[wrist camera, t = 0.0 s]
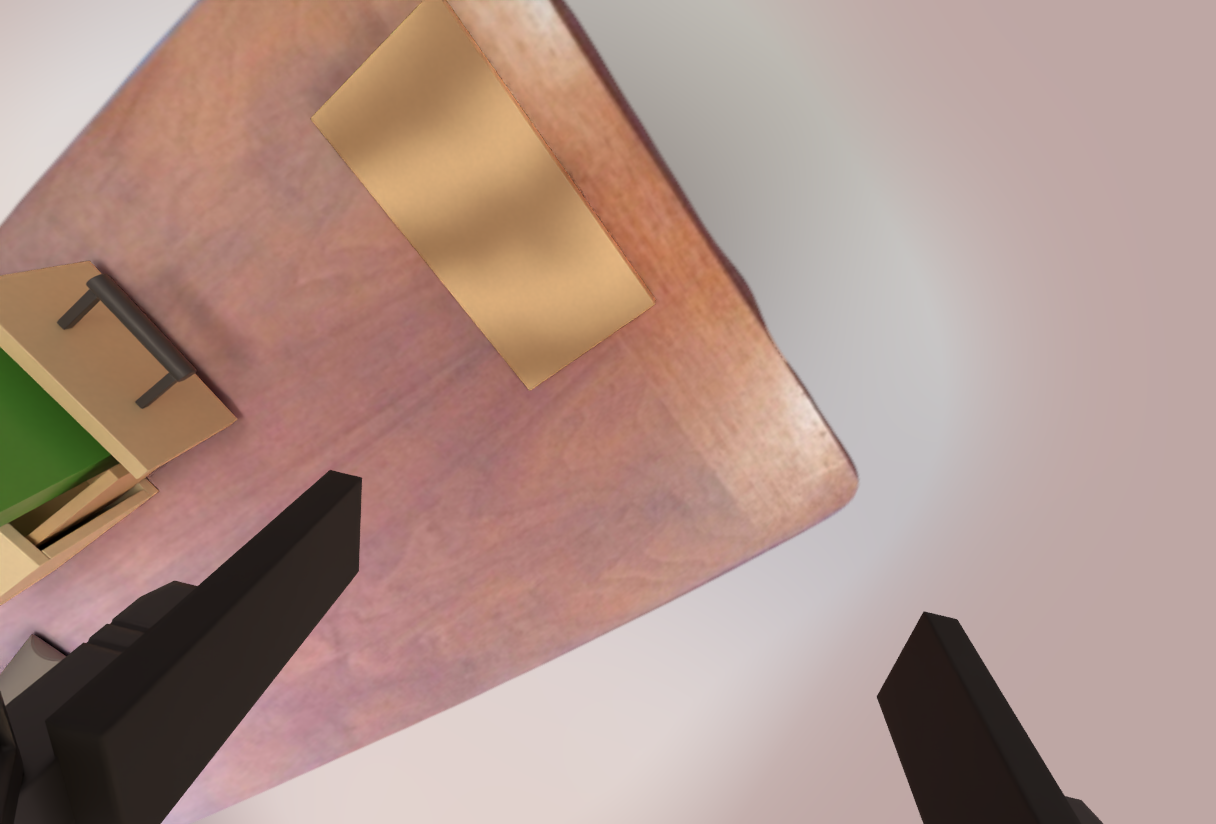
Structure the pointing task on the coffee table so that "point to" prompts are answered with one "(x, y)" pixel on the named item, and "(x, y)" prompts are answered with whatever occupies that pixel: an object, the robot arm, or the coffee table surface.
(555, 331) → the board
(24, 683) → the half round rod
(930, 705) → the robot arm
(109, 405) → the drawer
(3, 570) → the cabinet
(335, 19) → the coffee table surface
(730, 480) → the coffee table surface
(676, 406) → the coffee table surface
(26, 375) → the tall green block
